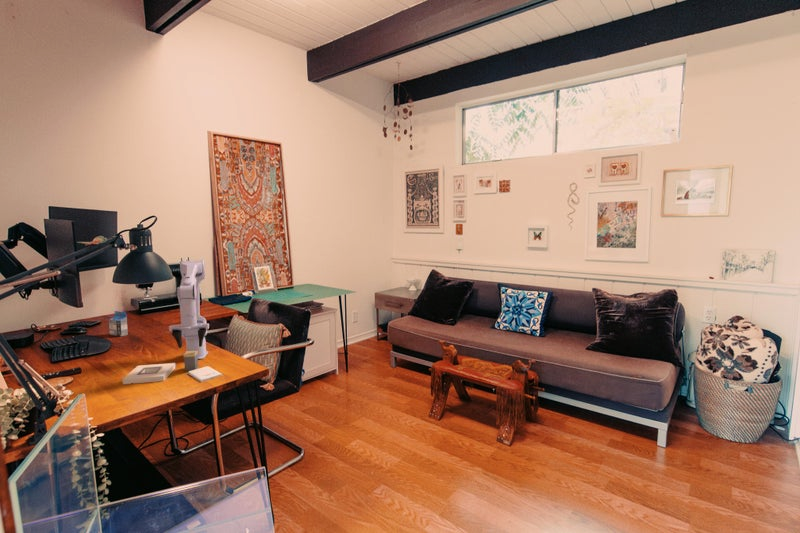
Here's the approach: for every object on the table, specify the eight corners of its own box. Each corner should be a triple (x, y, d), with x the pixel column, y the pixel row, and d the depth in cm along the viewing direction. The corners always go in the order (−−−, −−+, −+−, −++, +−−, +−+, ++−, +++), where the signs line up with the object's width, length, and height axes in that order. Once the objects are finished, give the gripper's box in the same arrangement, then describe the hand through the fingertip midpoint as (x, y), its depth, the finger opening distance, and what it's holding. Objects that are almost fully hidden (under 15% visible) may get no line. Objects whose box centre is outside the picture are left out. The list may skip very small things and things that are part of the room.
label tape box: (109, 335, 214) (107, 312, 213) (116, 333, 218) (114, 310, 216) (121, 336, 211) (119, 313, 210) (128, 334, 215) (126, 312, 214)
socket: (138, 370, 166) (137, 365, 166) (175, 367, 169) (175, 362, 169) (122, 384, 152) (122, 378, 152) (163, 380, 155) (163, 375, 155)
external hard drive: (208, 369, 169) (222, 377, 160) (188, 375, 162) (201, 383, 154) (208, 365, 168) (222, 373, 160) (187, 371, 162) (201, 379, 154)
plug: (187, 367, 169) (186, 351, 168) (198, 366, 170) (197, 350, 169) (184, 371, 165) (183, 354, 164) (195, 370, 166) (194, 354, 165)
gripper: (165, 317, 159) (168, 351, 161) (205, 315, 162) (207, 348, 164) (171, 313, 166) (173, 345, 168) (209, 311, 169) (211, 343, 171)
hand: (190, 346), depth 166 cm, fingers open, 7 cm apart
